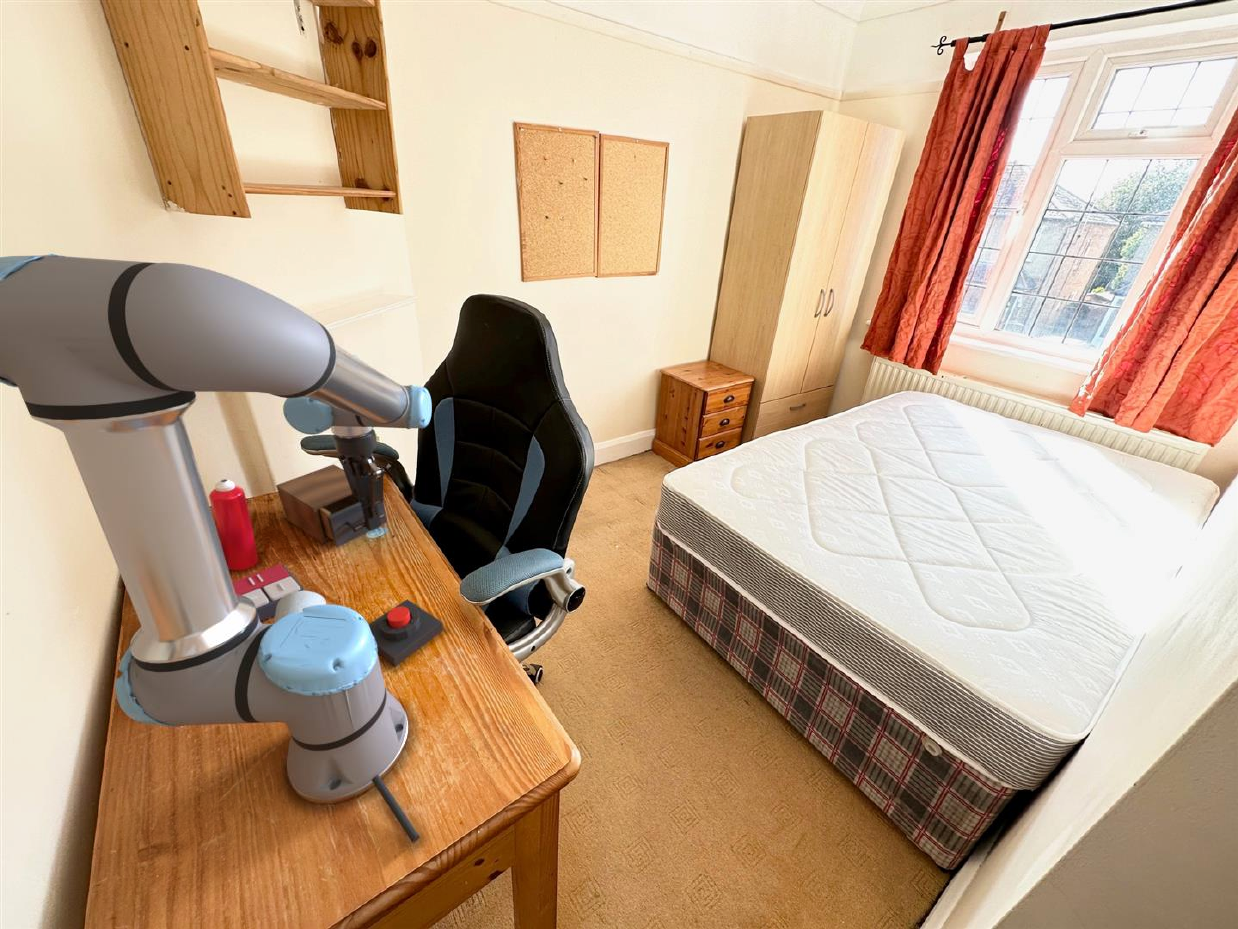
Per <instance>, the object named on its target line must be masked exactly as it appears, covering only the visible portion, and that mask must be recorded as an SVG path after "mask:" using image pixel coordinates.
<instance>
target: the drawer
mask: <svg viewBox="0 0 1238 929" xmlns="http://www.w3.org/2000/svg"><path fill="white" fill-rule="evenodd" d="M384 502H385V501H383V503H381V504H379V505H378V510H379V515H380V520H381V525H382V526H383V525H385V524H386V523H388V519H387V514H386V507H385V503H384ZM317 511H318V514H319V518H320V522H321V525H322V529H323V533H324V534H325V535H326V536H328V537H329V538H331V539H330V540H332V542H333V545H334V546H335V547H337V548H339V547H341V546H343V545H344V544H347V543H349V542H351V541H353V540H355V539H357V538H358V537H361V536H363V535H364V534H367V533H369V532H371V531H370V530H368V529H366V524H365V520H364V515H363V511H362V506H361V503H360V502H359V501H358V497H356V498H355V497H353V494H352V495H350V496H347V497H345V498H343V499H340V500H338V501H336V502H333V503H331V504H329V505H326V506H324V507H322V508H319V509H317Z"/></svg>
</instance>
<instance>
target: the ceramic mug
mask: <svg viewBox="0 0 1238 929" xmlns="http://www.w3.org/2000/svg"><path fill="white" fill-rule="evenodd" d="M326 604H327V601H326V599H325V598H324V596H323V595H321V594H319V593H318V592H315V591H310V590H304V591H296V592H292V593H290V594H287V595H285V596H284V597H283V598H281V599H280V601H279V602H278V604H277V607H276V613H275V615H274V618H273V624H274V623H275V622H277V621H278V620H279V619H281V618H282V617H284V616H286V615H288V614H290V613H292V612H297V613H301V612H302V611H303V608H306V607H310V606H315V605H326Z"/></svg>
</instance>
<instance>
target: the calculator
mask: <svg viewBox="0 0 1238 929" xmlns="http://www.w3.org/2000/svg"><path fill="white" fill-rule="evenodd" d="M232 583H233V586H234V590H235V593H236V594H237V595H242V596H245V597H248V598H250V599H251V600H252V601H253V602H254V604H255V606H256V610H257V613H258V616H259V620H260V622H261V623H262V622H263V621H265V620H267V619H270V618H272V617H275V613H276V607H277V604H278V602H279V601H280V599H281V598H283V597H284V596H285V595H287V594H290V593H292V592H296V591H305V588H304V587H303V586H302V585H301V584H300V583H299V581H298V580H297V579H296V578H295V577H294V575H293V574H292V573H291V571H290V570H288V568H287V567H286V565H285V564H281V563H280V564H277V565H274V566H271V567H268V568H266V569H262V570H260V571H258V572H255V573H252V574H250V575H247V576H244V577H241V578H238V579H236V580H232Z"/></svg>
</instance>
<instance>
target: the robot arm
mask: <svg viewBox="0 0 1238 929" xmlns="http://www.w3.org/2000/svg"><path fill="white" fill-rule="evenodd" d="M0 383H1V384H4V385H6V386H8V387H11V388H18V390H19V393H20V395H21V397H22V399H23V402H24V404H25V408H26V409H27V411H28V414H29V415H30V417H31V419H33V420H35V421H37V422H40V423H42V424H45V425H48V426H50V427H53V428H55V429H57V430H59V431H61V432H62V433H63V435H64V437H65V440H66V442H67V445H68V448H69V449H70V453H71V455H72V457H73V460H74V462H75V465H76V467H77V469H78V472H79V475H80V478H81V480H82V482H83V485H84V486H85V490H86V492H87V494H88V497H89V500H90V501H91V505H92V507H93V510H94V513H95V514H96V517H97V520H98V523H99V525H100V527H101V530H102V531H103V532H102V533H103V534H104V536H105V539H106V541H107V544H108V547H109V549H110V551H111V554H112V556H113V559H114V561H115V563H116V566H117V569H118V571H119V574H120V576H121V579H122V581H123V583H124V586H125V589H126V591H127V594H128V596H129V599H130V601H131V603H132V606H133V610H134V611H135V614H136V616H137V619H138V621H139V623H140V627H139V629H138V630H137V631H135V633H134V635H133V636H132V638H131V639H130V642H129V647H128V648H127V650H125V652H124V654H123V656H122V657H121V659H120V662H119V665H118V668H117V671H120V672H121V675H120V677H117V678H116V679H115V683H114V685H115V686H114V687H115V695H116V699H117V700H116V701H117V702H118V705H119V706H120V708H121V710H122V711H123V712H124V713H125V714H126V716H128V717H129V718H130V719H132V720H133V721H135V722H138V723H140V724H144V725H152V726H153V725H154V726H161V727H162V726H163V727H169V728H170V727H171V728H180V727H184V726H210V725H237V724H238V725H239V724H240V725H241V724H261V723H264V724H265V723H271V724H272V723H281V724H282V723H283V724H285V725H286V726H287V727H286V728H287V730H288V732H289V734H290V738H289V744H288V749H287V750H288V751H287V756H286V771H287V776H288V779H289V780H288V781H289V782H290V784H291V786H292V788H293V791H294V792H295V793H296V794H297V795H298V796H299V797H300V798H302V799H303V800H305V801H308V802H310V803H313V804H317V805H319V804H320V805H331V804H338V803H343V802H346V801H349V800H352V799H354V798H356V797H358V796H360V795H363V794H365V793H366V792H368V791H369V790H371V789H373V788H374V787H375V788H376V790H377V791H378V792H379V794H380V795H381V797H382V798H383V800H384V802H385V803H386V804H387V806H388V808H389V809H390V811H391V812H392V814H393V815H394V817H395V818H396V820H397V822H398V823H399V825H400V827H401V828H402V829H403V831H404V832H405V834H406V836H408V839H410V841H411V843H412V844H413V843H416V842H417V841H418V840H419V839H420V834H419V833H418V832H417V830H416V829H415V827H414V825H413V824H412V823H411V821H410V820H409V818H408V817H407V815H406V814H405V812H404V810H403V809H402V807H401V806H400V805H399V803H398V801H397V800H396V798H395V797H394V796H393V794H392V793H391V791H390V790H389V788H388V787H387V785H386V784H385V782H384V781H383V780H384V779H385V778H386V777H387V776H388V775H389V774H390V773H391V772H392V771H393V769H394V768H395V767H396V766H397V764H398V763H399V761H400V759H401V758H402V756H403V754H404V752H405V749H406V747H407V745H408V741H409V732H410V727H409V721H408V716H407V714H406V711H405V709H404V707H403V705H402V704H401V703H400V701H399V700H398V699H397V698H396V697H395V696H394V695H392V693H391V692H389V690H388V689H387V687H386V684H385V680H384V675H383V670H382V666H381V663H380V657H379V654H378V653H377V652H378V650H377V644H376V641H375V638H374V636H373V635H372V633H371V630H370V627H369V623H368V621H367V620H366V619H365V618H364V617H363V616H362V614H361V613H359V612H358V611H356V610H354V609H352V608H350V607H346V606H343V605H338V604H327V603H326V605H315V606H310V607H306V608H303V611H302V612H301V613H297V612H292V613H290V614H288V615H286V616H284V617H282V618H281V619H279V620H278V621H277V622H275V623H274V622H273V623H262V621H261V622H260V620H259V616H258V613H257V610H256V606H255V604H254V602H253V601H252V600H251V599H250V598H248V597H245V596H242V595H237V594H236V593H235V590H234V586H233V583H232V582H233V580H232V576H231V572H230V569H229V568H228V566H227V563H226V559H225V556H224V553H223V549H222V546H221V542H220V538H219V534H218V530H217V526H216V522H215V519H214V515H213V512H212V508H211V505H210V503H209V500H208V499H209V498H208V496H207V493H206V489H205V486H204V483H203V479H202V477H201V473H200V468H199V466H198V463H197V459H196V457H195V456H196V455H195V452H194V449H193V446H192V443H191V439H190V437H189V432H188V430H187V426H186V423H185V419H184V416H185V414H186V412H187V411H188V410H189V409H190V408H191V407H192V406H193V405H194V404H195V403H196V401H197V394H196V393H202V392H204V393H212V392H215V393H217V392H220V393H223V392H224V393H227V392H228V393H231V392H232V393H259V394H260V393H262V394H269V395H272V396H275V397H279V398H283V399H285V400H284V403H283V406H282V411H283V416H284V419H285V420H286V422H287V423H288V424H289V426H291V427H292V429H294V430H295V431H297V432H299V433H302V434H304V435H310V436H311V435H312V436H314V435H315V436H316V435H319V434H321V433H324V432H325V431H328V430H330V431H331V433H332V434H333V442H334V446H335V450H336V452H337V453H338V455H337V459H338V461H339V463H340V465H341V467H342V469H343V470H344V472H345V475H346V478H347V480H348V483H349V486H350V489H351V492H352V494H353V497H355V498H356V497H358V501H359V502H360V503H361V506H362V511H363V515H364V520H365V524H366V529H368V530H370V531H369V532H371V531H373V530H376V529H378V528H380V527H381V526H383V525H381V520H380V515H379V510H378V505H379V504H381V503H383V502H384V476H385V473H386V471H385V468H383V467H380V468H379V467H378V466H377V465H376V459H375V457H374V454H373V453H374V451H375V450H376V449H377V448H378V441H377V435H376V431H375V429H374V428H385V429H386V428H387V429H388V428H391V429H406V430H411V429H425V428H426V427H427V426H429V424H430V421H431V418H432V413H433V412H432V411H433V410H432V406H433V405H432V404H433V403H432V398H431V394H430V392H429V390H428V389H427V388H426V387H424V386H418V385H413V384H409V385H402V384H400V383H398V382H396V381H395V380H393V379H391V378H390V377H388V376H387V375H386V374H383V373H382V372H381V371H379V370H377V369H376V368H375V367H373V366H371V365H370V364H368V363H367V362H365V361H364V360H362V359H360V357H359V356H358V355H355V354H353V353H351V352H350V351H348V350H346V349H345V348H343V347H341V346H340V345H339V344H337V343H336V342H335V340H334V338H333V336H332V334H331V333H330V332H329V330H328V329H327V328H326V327H325V326H324V325H323V324H322V323H320V322H319V321H317V320H316V319H314V318H313V317H312V316H311V315H309V314H308V313H306V312H304V311H302V310H301V309H299V307H296V306H294V305H293V304H291V303H289V302H287V301H285V300H284V299H282V298H279V297H278V296H275V295H274V294H272V293H270V292H267V291H265V290H263V289H261V288H259V287H257V286H254V285H252V284H250V283H248V282H245V281H243V280H241V279H237V278H235V277H232V276H230V275H227V274H225V273H222V272H218V271H215V270H212V269H209V268H205V267H204V268H203V267H199V266H196V265H191V264H186V263H185V264H184V263H175V262H149V261H148V262H147V261H137V260H121V259H108V258H107V259H106V258H94V257H93V258H91V257H78V256H66V255H59V254H55V253H54V254H53V253H50V254H44V255H8V256H0Z"/></svg>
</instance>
